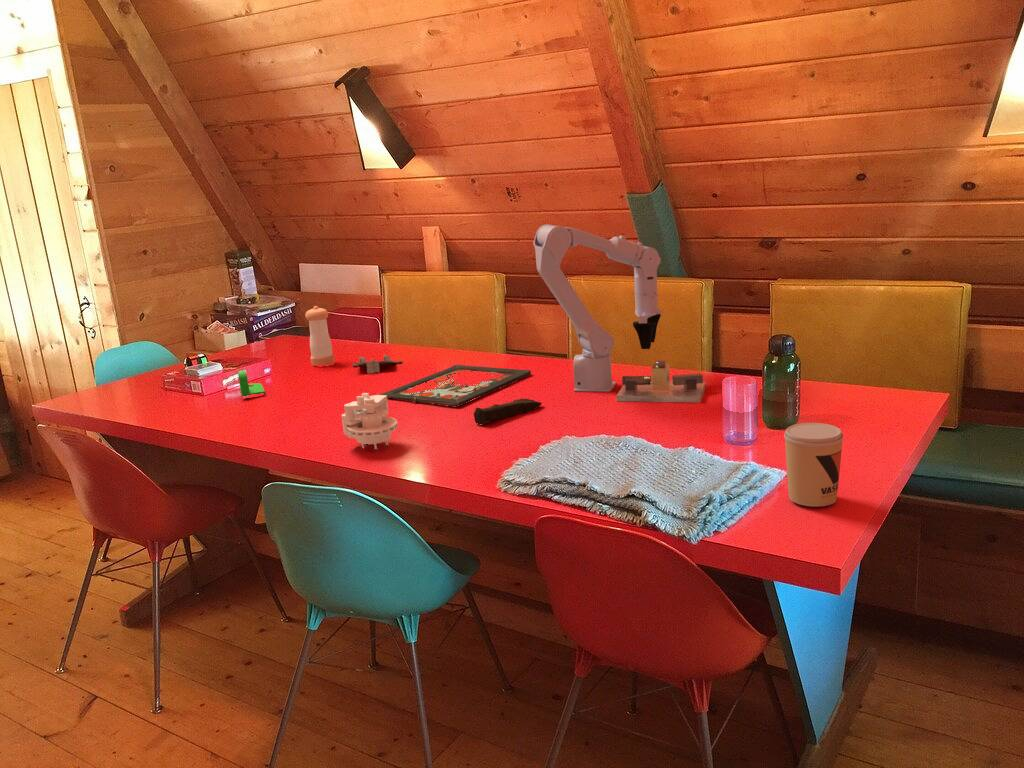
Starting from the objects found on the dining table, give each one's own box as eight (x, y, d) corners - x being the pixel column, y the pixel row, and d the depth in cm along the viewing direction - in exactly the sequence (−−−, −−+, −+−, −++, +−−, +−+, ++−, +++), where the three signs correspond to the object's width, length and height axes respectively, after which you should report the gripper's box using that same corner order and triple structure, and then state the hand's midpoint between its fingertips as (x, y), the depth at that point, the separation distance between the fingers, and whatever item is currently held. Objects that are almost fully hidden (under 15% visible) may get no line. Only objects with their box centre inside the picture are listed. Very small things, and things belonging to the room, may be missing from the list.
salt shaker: (313, 365, 280) (305, 305, 276) (336, 363, 281) (328, 303, 276) (310, 370, 273) (302, 309, 268) (334, 368, 274) (326, 307, 269)
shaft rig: (616, 401, 215) (615, 383, 214) (626, 386, 228) (625, 369, 227) (700, 402, 209) (699, 383, 208) (705, 386, 222) (705, 369, 221)
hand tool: (483, 410, 202) (470, 406, 205) (484, 427, 203) (471, 423, 207) (543, 392, 214) (530, 389, 217) (543, 408, 215) (530, 404, 218)
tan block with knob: (652, 389, 217) (651, 363, 215) (655, 385, 221) (654, 359, 219) (667, 390, 216) (666, 363, 214) (669, 385, 220) (668, 359, 218)
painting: (534, 377, 247) (534, 368, 246) (460, 412, 219) (459, 402, 218) (454, 370, 262) (453, 362, 261) (375, 402, 234) (374, 393, 233)
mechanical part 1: (265, 398, 245) (261, 370, 243) (243, 401, 243) (238, 373, 241) (261, 388, 256) (257, 362, 254) (240, 392, 254) (235, 365, 252)
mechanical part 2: (372, 458, 188) (365, 404, 185) (336, 449, 196) (329, 397, 193) (411, 443, 196) (405, 391, 193) (375, 435, 204) (369, 385, 201)
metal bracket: (397, 353, 260) (346, 357, 260) (398, 373, 260) (347, 377, 260) (402, 356, 274) (354, 360, 274) (404, 375, 274) (355, 378, 274)
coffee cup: (828, 513, 144) (829, 443, 141) (774, 501, 150) (774, 434, 147) (850, 494, 151) (852, 427, 148) (798, 483, 157) (798, 419, 154)
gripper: (657, 298, 218) (659, 351, 222) (665, 288, 232) (667, 339, 235) (629, 298, 221) (631, 351, 224) (638, 289, 234) (640, 339, 237)
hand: (648, 345), depth 230 cm, fingers open, 7 cm apart
